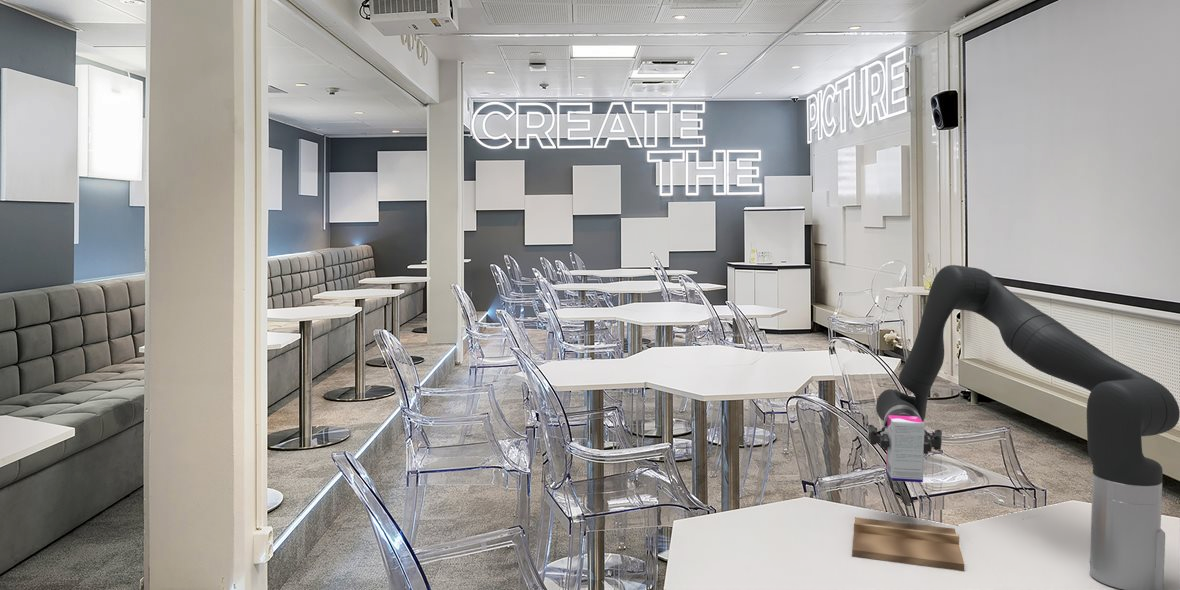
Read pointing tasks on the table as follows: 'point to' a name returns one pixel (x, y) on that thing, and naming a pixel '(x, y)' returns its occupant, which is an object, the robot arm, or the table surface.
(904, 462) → the supplement box
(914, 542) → the tan wooden board
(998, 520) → the table surface
